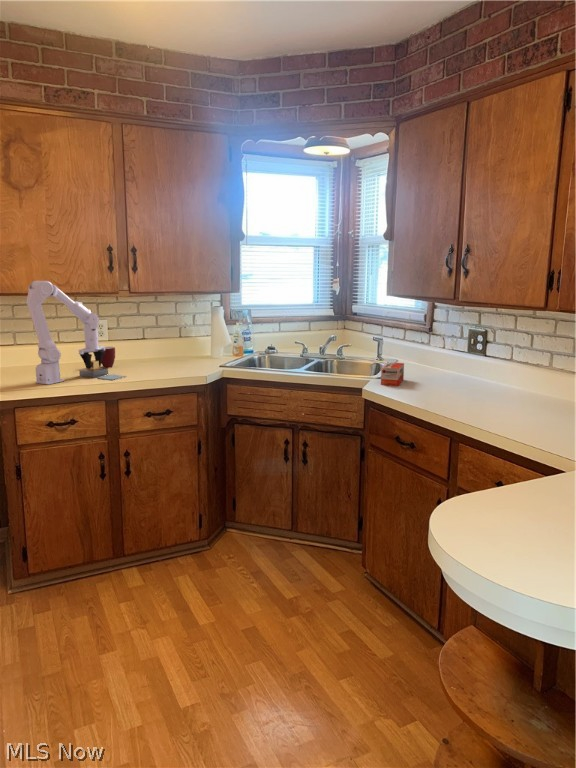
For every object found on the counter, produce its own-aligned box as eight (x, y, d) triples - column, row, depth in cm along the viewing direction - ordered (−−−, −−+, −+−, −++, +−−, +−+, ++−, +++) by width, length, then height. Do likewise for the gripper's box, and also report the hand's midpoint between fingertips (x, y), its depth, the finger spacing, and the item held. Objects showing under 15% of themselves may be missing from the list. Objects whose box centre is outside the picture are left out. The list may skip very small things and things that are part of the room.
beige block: (94, 376, 255) (93, 361, 254) (88, 376, 257) (87, 361, 255) (99, 375, 258) (98, 360, 257) (94, 374, 260) (93, 360, 258)
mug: (105, 364, 286) (104, 345, 284) (120, 365, 285) (119, 346, 283) (96, 368, 276) (95, 348, 274) (112, 368, 275) (110, 349, 273)
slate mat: (112, 380, 247) (112, 379, 247) (97, 378, 251) (97, 377, 250) (126, 376, 255) (126, 376, 254) (111, 375, 258) (111, 374, 258)
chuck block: (94, 378, 251) (93, 371, 251) (79, 376, 255) (79, 370, 255) (108, 374, 259) (108, 368, 259) (94, 373, 263) (93, 367, 263)
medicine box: (385, 378, 252) (386, 361, 251) (403, 380, 250) (404, 362, 248) (380, 385, 238) (380, 367, 237) (399, 386, 236) (399, 368, 234)
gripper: (85, 340, 246) (88, 370, 248) (109, 337, 258) (111, 365, 261) (74, 339, 249) (76, 369, 251) (98, 336, 261) (100, 364, 264)
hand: (93, 367), depth 256 cm, fingers open, 6 cm apart
